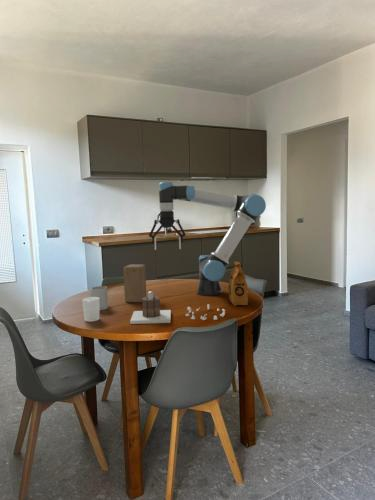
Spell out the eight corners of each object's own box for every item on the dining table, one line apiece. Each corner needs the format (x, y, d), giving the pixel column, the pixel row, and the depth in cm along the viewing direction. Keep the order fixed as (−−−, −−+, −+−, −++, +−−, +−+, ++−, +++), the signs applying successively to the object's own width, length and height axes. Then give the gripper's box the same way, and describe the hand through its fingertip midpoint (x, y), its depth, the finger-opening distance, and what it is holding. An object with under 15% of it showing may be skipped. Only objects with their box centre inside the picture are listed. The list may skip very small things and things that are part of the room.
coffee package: (230, 306, 192) (229, 264, 190) (228, 300, 205) (227, 261, 202) (249, 306, 192) (249, 264, 190) (246, 300, 204) (246, 260, 202)
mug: (105, 310, 191) (104, 289, 189) (89, 310, 192) (87, 289, 190) (112, 304, 202) (111, 284, 201) (97, 304, 204) (96, 284, 202)
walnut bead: (160, 312, 179) (159, 296, 178) (159, 317, 171) (159, 300, 170) (143, 312, 179) (142, 296, 178) (142, 317, 171) (141, 300, 170)
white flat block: (170, 312, 183) (170, 309, 183) (170, 322, 167) (170, 319, 167) (134, 314, 183) (133, 311, 183) (130, 324, 167) (130, 320, 167)
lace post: (154, 314, 176) (153, 291, 175) (153, 315, 174) (152, 292, 173) (149, 314, 176) (148, 291, 175) (148, 315, 174) (147, 292, 173)
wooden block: (141, 302, 205) (140, 266, 203) (124, 302, 207) (122, 266, 205) (147, 298, 214) (145, 264, 212) (130, 298, 216) (129, 264, 214)
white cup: (85, 317, 179) (83, 297, 178) (101, 316, 179) (100, 296, 178) (81, 322, 171) (80, 301, 170) (99, 321, 172) (98, 300, 171)
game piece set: (177, 315, 179) (176, 308, 179) (205, 307, 193) (205, 300, 192) (206, 324, 165) (206, 315, 165) (235, 314, 179) (235, 306, 179)
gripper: (143, 211, 200) (144, 250, 202) (189, 210, 200) (190, 249, 203) (144, 211, 207) (145, 249, 209) (189, 210, 208) (190, 247, 210)
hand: (167, 249), depth 206 cm, fingers open, 13 cm apart
